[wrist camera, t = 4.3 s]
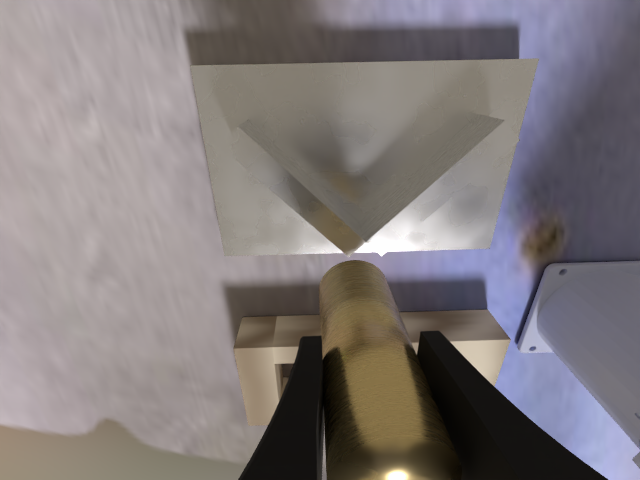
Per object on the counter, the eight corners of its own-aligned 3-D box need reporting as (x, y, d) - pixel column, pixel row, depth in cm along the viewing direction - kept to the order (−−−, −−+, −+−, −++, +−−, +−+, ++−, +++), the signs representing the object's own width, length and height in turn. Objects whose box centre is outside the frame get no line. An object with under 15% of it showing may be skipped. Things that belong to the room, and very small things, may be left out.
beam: (487, 309, 23) (510, 339, 21) (466, 383, 27) (483, 417, 24) (242, 317, 23) (233, 348, 20) (254, 390, 27) (248, 425, 24)
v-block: (519, 60, 16) (579, 54, 12) (477, 237, 20) (513, 271, 17) (200, 66, 16) (167, 63, 12) (230, 244, 20) (213, 279, 17)
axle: (391, 260, 14) (476, 437, 7) (383, 317, 15) (447, 516, 8) (319, 260, 14) (329, 439, 7) (318, 317, 15) (325, 519, 8)
